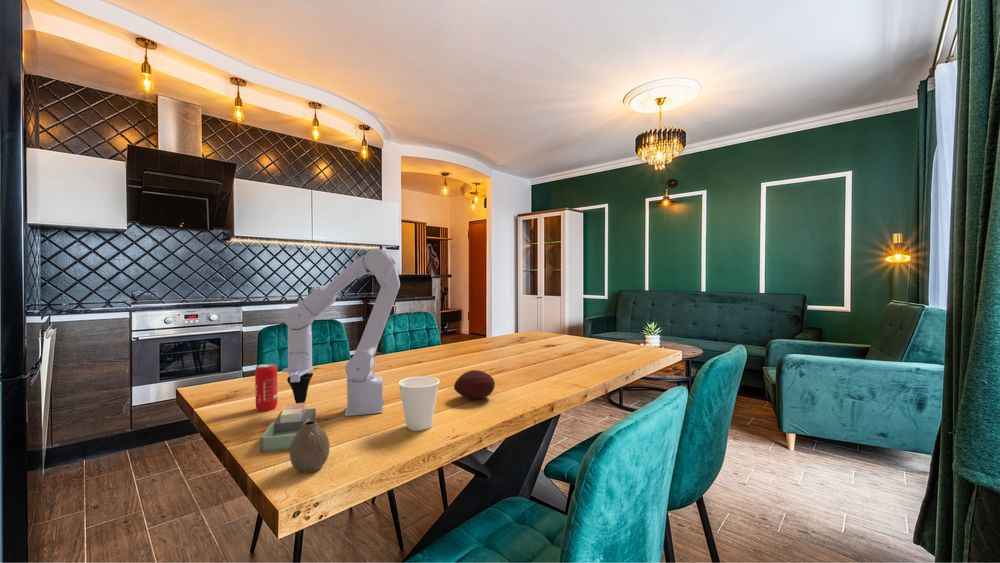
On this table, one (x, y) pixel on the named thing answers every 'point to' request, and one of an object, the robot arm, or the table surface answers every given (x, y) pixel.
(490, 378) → the dark brown oval lump
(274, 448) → the box
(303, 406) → the tile terracotta
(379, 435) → the table surface
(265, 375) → the beverage can
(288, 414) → the tile ivory
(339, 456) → the table surface
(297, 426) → the ledge
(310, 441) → the vase
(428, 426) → the cup
